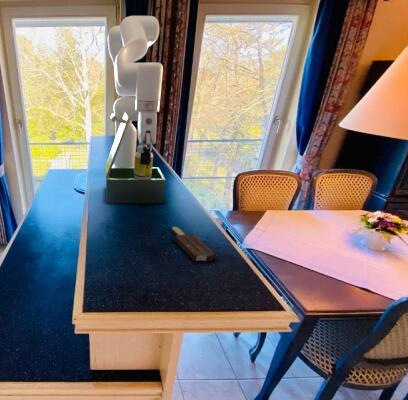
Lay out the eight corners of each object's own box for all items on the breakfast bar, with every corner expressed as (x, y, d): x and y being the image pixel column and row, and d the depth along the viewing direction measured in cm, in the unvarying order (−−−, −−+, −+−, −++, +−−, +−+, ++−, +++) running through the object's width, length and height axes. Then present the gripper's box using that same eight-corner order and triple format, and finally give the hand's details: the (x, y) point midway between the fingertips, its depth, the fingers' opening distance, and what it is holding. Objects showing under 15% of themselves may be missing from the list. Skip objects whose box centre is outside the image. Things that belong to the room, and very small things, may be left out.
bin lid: (127, 112, 91) (112, 107, 90) (130, 118, 79) (114, 112, 79) (107, 166, 99) (94, 162, 98) (107, 178, 88) (92, 173, 87)
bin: (156, 189, 103) (158, 167, 99) (163, 203, 91) (165, 179, 87) (106, 188, 103) (106, 167, 99) (106, 203, 92) (106, 179, 88)
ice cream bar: (165, 231, 75) (196, 264, 62) (165, 226, 74) (197, 258, 61) (181, 228, 76) (215, 260, 63) (182, 223, 76) (217, 254, 63)
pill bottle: (147, 181, 90) (149, 149, 85) (130, 178, 93) (132, 147, 88) (153, 175, 95) (156, 145, 90) (137, 173, 98) (139, 143, 93)
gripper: (165, 109, 76) (159, 169, 83) (154, 103, 91) (150, 154, 99) (138, 109, 76) (135, 169, 84) (132, 103, 91) (130, 154, 99)
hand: (143, 160), depth 91 cm, fingers closed on pill bottle, 6 cm apart
